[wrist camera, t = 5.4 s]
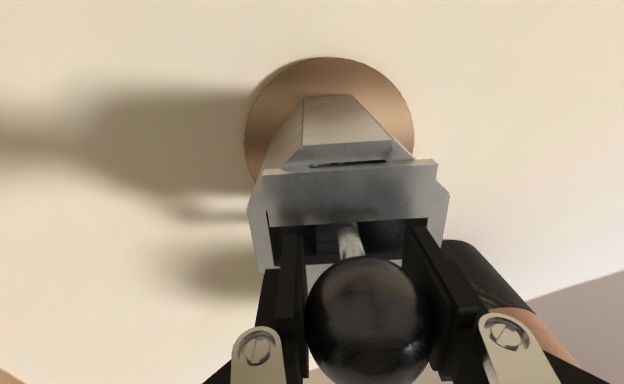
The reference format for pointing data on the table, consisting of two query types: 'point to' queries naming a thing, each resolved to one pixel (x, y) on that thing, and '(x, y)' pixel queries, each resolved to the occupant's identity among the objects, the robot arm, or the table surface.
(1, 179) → the table surface
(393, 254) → the grey slotted housing
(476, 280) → the travel mug
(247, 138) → the disc
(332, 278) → the plunger
